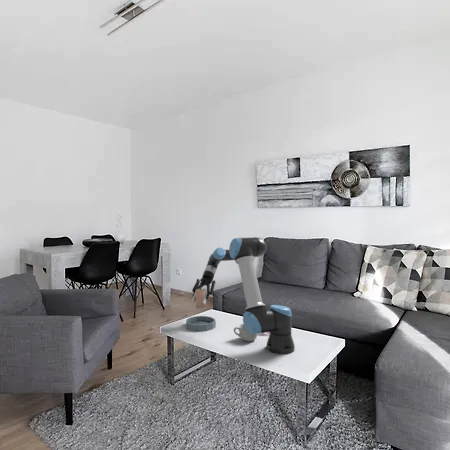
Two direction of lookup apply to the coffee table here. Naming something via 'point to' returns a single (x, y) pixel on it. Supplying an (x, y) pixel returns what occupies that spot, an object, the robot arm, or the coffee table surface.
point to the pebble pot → (200, 297)
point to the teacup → (245, 333)
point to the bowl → (200, 323)
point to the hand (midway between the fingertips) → (198, 302)
